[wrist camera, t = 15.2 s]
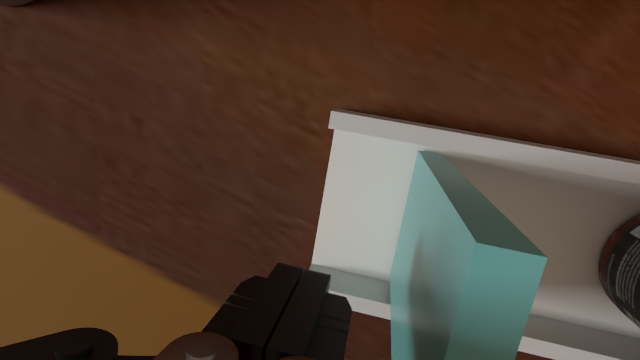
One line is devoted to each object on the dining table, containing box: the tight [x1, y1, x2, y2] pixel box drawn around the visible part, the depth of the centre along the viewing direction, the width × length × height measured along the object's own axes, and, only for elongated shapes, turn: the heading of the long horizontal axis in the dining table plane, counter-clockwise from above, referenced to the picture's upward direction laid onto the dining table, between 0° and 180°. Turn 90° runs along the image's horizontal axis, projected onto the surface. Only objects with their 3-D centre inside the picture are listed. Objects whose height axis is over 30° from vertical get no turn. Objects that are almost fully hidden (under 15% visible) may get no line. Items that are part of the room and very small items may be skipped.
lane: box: [309, 109, 640, 360], centre depth 18 cm, size 22×10×6 cm, turn 81°
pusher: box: [390, 150, 548, 360], centre depth 14 cm, size 1×7×13 cm, turn 171°
